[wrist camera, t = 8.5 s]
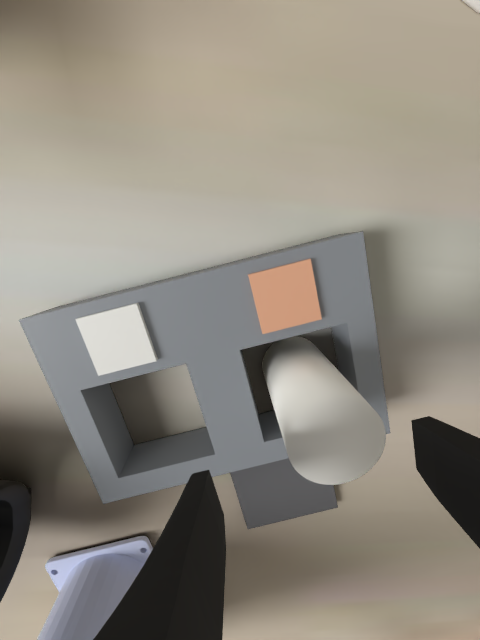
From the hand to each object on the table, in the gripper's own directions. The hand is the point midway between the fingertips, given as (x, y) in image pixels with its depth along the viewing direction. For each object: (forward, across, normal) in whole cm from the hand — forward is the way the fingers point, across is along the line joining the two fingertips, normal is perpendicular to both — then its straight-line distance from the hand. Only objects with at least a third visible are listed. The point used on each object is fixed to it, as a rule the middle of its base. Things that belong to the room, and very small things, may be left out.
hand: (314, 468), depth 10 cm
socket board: (+10, +3, -1) cm, 10 cm away
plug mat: (+10, +1, +9) cm, 13 cm away
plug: (+10, -1, 0) cm, 10 cm away
